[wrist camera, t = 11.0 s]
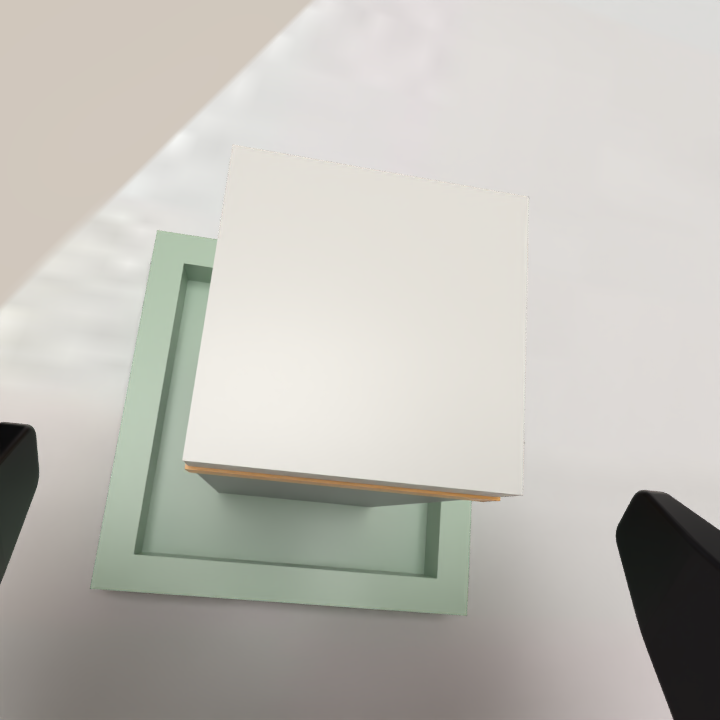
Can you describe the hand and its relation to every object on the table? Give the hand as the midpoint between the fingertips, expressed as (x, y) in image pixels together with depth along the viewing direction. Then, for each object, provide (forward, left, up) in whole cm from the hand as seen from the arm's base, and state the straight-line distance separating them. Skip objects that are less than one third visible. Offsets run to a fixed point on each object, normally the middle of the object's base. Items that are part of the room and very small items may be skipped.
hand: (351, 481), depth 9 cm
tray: (+2, -1, -12) cm, 12 cm away
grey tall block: (+2, -1, -12) cm, 12 cm away
